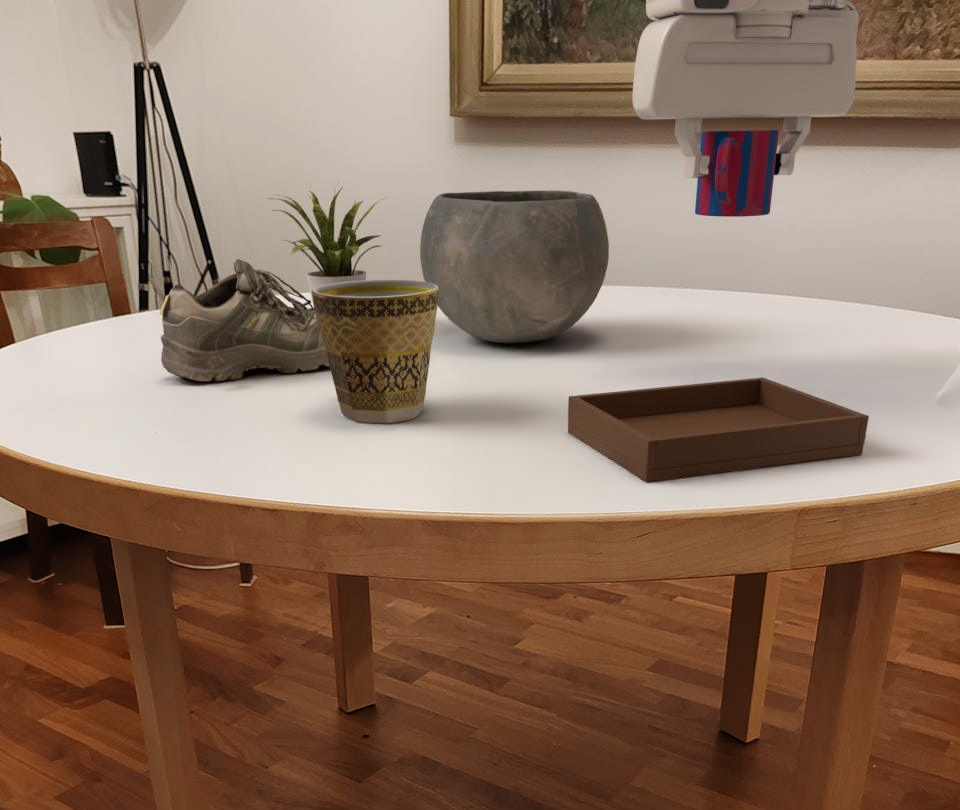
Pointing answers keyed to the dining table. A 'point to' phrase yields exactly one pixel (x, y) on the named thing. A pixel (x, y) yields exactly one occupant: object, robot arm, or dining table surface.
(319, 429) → the dining table surface
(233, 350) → the hiking shoe
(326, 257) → the house plant
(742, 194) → the cup
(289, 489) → the dining table surface
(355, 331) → the ceramic cup
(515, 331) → the bowl
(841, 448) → the tray
